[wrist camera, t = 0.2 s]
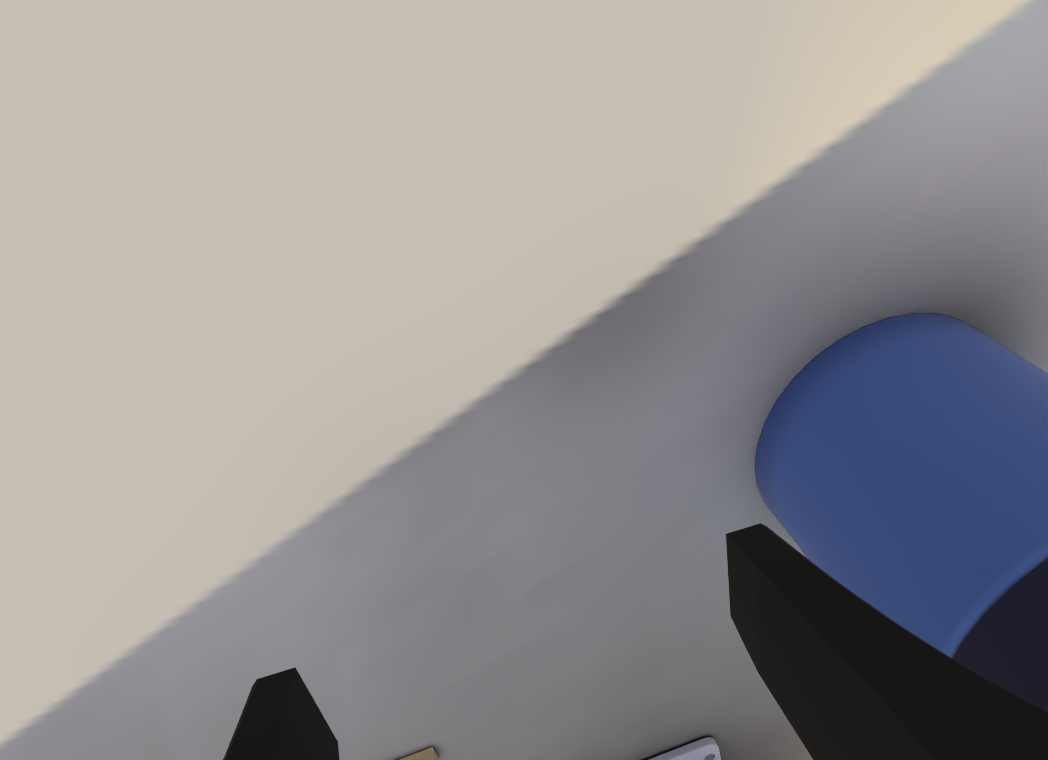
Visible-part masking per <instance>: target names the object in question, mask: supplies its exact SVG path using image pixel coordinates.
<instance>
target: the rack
mask: <svg viewBox="0 0 1048 760" xmlns="http://www.w3.org/2000/svg"><path fill="white" fill-rule="evenodd" d="M399 760H439V757H438V755H437V753H436V752H435V750H434V749H433V747H431V748H428V749H425V750H423V751H420V752H418V753H415V754H412V755H410V756H407V757H404V758H402V759H399Z"/></svg>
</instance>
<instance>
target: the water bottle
mask: <svg viewBox="0 0 1048 760" xmlns="http://www.w3.org/2000/svg"><path fill="white" fill-rule="evenodd" d="M755 471H756V479H757V486H758V488H759V491H760V493H761V496H762V498H763V500H764V502H765V503H766V505H767V506H768V507H769V508H770V510H771V511H772V512H773V514H774V515H775V516H776V518H777V519H778V520H779V521H780V523H781V524H782V525H783V527H784V528H785V529H786V531H787V532H788V533H789V534H790V536H791V537H792V538H793V540H794V541H795V542H796V544H797V545H798V546H799V547H800V549H801V550H802V551H803V553H804V554H805V555H806V557H807V558H808V559H809V560H810V561H811V562H812V563H814V564H815V565H816V566H818V567H819V568H820V569H822V570H823V571H824V572H826V573H827V574H828V575H829V576H831V577H832V578H833V579H835V580H836V581H838V582H839V583H840V584H842V585H843V586H844V587H846V588H847V589H849V590H850V591H851V592H853V593H854V594H856V595H857V596H858V597H860V598H861V599H863V600H864V601H866V602H867V603H868V604H870V605H871V606H873V607H874V608H876V609H877V610H878V611H880V612H881V613H883V614H884V615H886V616H887V617H888V618H890V619H891V620H893V621H894V622H896V623H897V624H899V625H900V626H902V627H903V628H905V629H906V630H908V631H909V632H911V633H913V634H914V635H916V636H917V637H919V638H920V639H922V640H924V641H925V642H927V643H928V644H930V645H931V646H933V647H935V648H936V649H938V650H939V651H941V652H942V653H944V654H946V655H947V656H949V657H951V658H952V659H954V660H956V661H957V662H959V663H961V664H962V665H964V666H966V667H967V668H969V669H971V670H972V671H974V672H976V673H978V674H979V675H981V676H983V677H985V678H987V679H988V680H990V681H992V682H994V683H995V684H997V685H999V686H1001V687H1003V688H1004V689H1006V690H1008V691H1010V692H1012V693H1013V694H1015V695H1017V696H1019V697H1021V698H1023V699H1025V700H1027V701H1029V702H1031V703H1032V704H1034V705H1036V706H1038V707H1040V708H1042V709H1044V710H1046V711H1048V373H1047V372H1045V371H1043V370H1042V369H1040V368H1038V367H1037V366H1035V365H1033V364H1032V363H1030V362H1028V361H1027V360H1025V359H1023V358H1022V357H1020V356H1018V355H1017V354H1015V353H1013V352H1012V351H1010V350H1008V349H1007V348H1005V347H1004V346H1002V345H1000V344H999V343H997V342H995V341H994V340H992V339H990V338H989V337H987V336H985V335H984V334H982V333H980V332H979V331H977V330H975V329H974V328H972V327H970V326H969V325H967V324H965V323H964V322H962V321H960V320H959V319H955V318H952V317H948V316H944V315H941V314H923V313H914V314H908V315H902V316H897V317H891V318H888V319H885V320H882V321H879V322H876V323H874V324H871V325H868V326H865V327H863V328H861V329H859V330H857V331H855V332H854V333H852V334H850V335H848V336H846V337H844V338H842V339H841V340H839V341H837V342H836V343H835V344H833V345H832V346H831V347H829V348H828V349H826V350H825V351H824V352H822V353H821V354H820V355H818V356H817V357H816V358H814V359H813V360H812V361H811V362H810V363H809V364H808V365H807V366H806V367H805V368H804V369H803V370H802V371H801V372H800V373H799V374H798V375H797V376H796V377H795V378H794V379H793V380H792V382H791V383H790V384H789V386H788V387H787V388H786V390H785V391H784V392H783V393H782V395H781V396H780V397H779V399H778V400H777V402H776V404H775V405H774V407H773V409H772V411H771V413H770V415H769V416H768V418H767V420H766V422H765V424H764V427H763V430H762V433H761V436H760V439H759V442H758V445H757V453H756V461H755Z"/></svg>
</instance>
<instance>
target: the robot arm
mask: <svg viewBox="0 0 1048 760" xmlns="http://www.w3.org/2000/svg"><path fill="white" fill-rule="evenodd" d="M726 542H727V559H728V577H729V595H730V612H731V617H732V620H733V622H734V624H735V626H736V628H737V630H738V632H739V634H740V636H741V638H742V640H743V642H744V645H745V647H746V649H747V651H748V653H749V655H750V657H751V659H752V661H753V663H754V665H755V667H756V669H757V671H758V673H759V674H760V676H761V677H762V679H763V681H764V682H765V684H766V686H767V687H768V689H769V690H770V692H771V694H772V695H773V697H774V698H775V700H776V701H777V703H778V705H779V706H780V708H781V709H782V711H783V713H784V714H785V716H786V717H787V719H788V720H789V722H790V724H791V725H792V727H793V728H794V730H795V731H796V733H797V735H798V736H799V738H800V739H801V741H802V742H803V744H804V746H805V747H806V749H807V750H808V752H809V753H810V755H811V756H812V758H813V760H1048V711H1046V710H1044V709H1042V708H1040V707H1038V706H1036V705H1034V704H1032V703H1031V702H1029V701H1027V700H1025V699H1023V698H1021V697H1019V696H1017V695H1015V694H1013V693H1012V692H1010V691H1008V690H1006V689H1004V688H1003V687H1001V686H999V685H997V684H995V683H994V682H992V681H990V680H988V679H987V678H985V677H983V676H981V675H979V674H978V673H976V672H974V671H972V670H971V669H969V668H967V667H966V666H964V665H962V664H961V663H959V662H957V661H956V660H954V659H952V658H951V657H949V656H947V655H946V654H944V653H942V652H941V651H939V650H938V649H936V648H935V647H933V646H931V645H930V644H928V643H927V642H925V641H924V640H922V639H920V638H919V637H917V636H916V635H914V634H913V633H911V632H909V631H908V630H906V629H905V628H903V627H902V626H900V625H899V624H897V623H896V622H894V621H893V620H891V619H890V618H888V617H887V616H886V615H884V614H883V613H881V612H880V611H878V610H877V609H876V608H874V607H873V606H871V605H870V604H868V603H867V602H866V601H864V600H863V599H861V598H860V597H858V596H857V595H856V594H854V593H853V592H851V591H850V590H849V589H847V588H846V587H844V586H843V585H842V584H840V583H839V582H838V581H836V580H835V579H833V578H832V577H831V576H829V575H828V574H827V573H826V572H824V571H823V570H822V569H820V568H819V567H818V566H816V565H815V564H814V563H812V562H811V561H810V560H808V559H807V558H806V557H805V556H803V555H802V554H801V553H799V552H798V551H797V550H796V549H794V548H793V547H792V546H790V545H789V544H788V543H787V542H785V541H784V540H783V539H782V538H780V537H779V536H778V535H777V534H775V533H774V532H773V531H772V530H770V529H769V528H768V527H766V526H765V525H763V524H761V523H760V524H757V525H754V526H750V527H747V528H744V529H741V530H737V531H734V532H731V533H728V534H726ZM223 760H339V751H338V741H337V740H336V738H335V736H334V734H333V733H332V731H331V729H330V727H329V726H328V724H327V722H326V720H325V719H324V717H323V715H322V713H321V712H320V710H319V708H318V706H317V705H316V703H315V701H314V699H313V698H312V696H311V694H310V692H309V691H308V689H307V687H306V685H305V684H304V682H303V680H302V678H301V677H300V675H299V673H298V671H297V670H296V668H292V669H289V670H286V671H282V672H279V673H276V674H273V675H269V676H266V677H263V678H260V679H257V680H256V682H255V683H254V685H253V686H252V689H251V691H250V694H249V696H248V699H247V702H246V704H245V707H244V709H243V712H242V714H241V717H240V719H239V722H238V724H237V727H236V730H235V732H234V735H233V737H232V739H231V742H230V744H229V747H228V749H227V752H226V754H225V757H224V759H223ZM648 760H721V756H720V752H719V747H718V745H717V743H716V741H715V739H714V738H711V737H706V738H703V739H700V740H698V741H695V742H692V743H690V744H687V745H685V746H682V747H680V748H677V749H674V750H672V751H669V752H667V753H664V754H661V755H659V756H656V757H654V758H651V759H648Z"/></svg>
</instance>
